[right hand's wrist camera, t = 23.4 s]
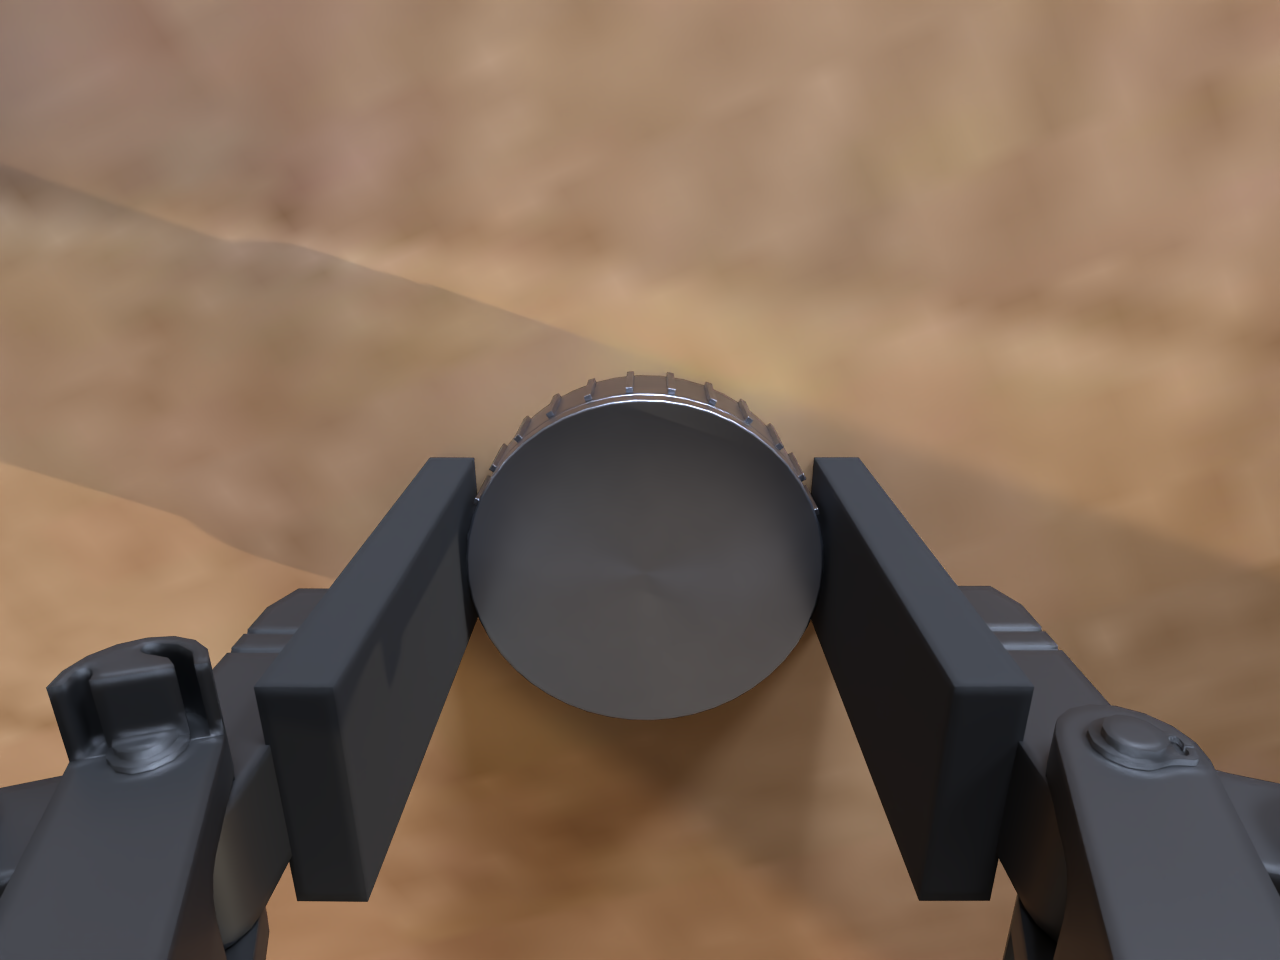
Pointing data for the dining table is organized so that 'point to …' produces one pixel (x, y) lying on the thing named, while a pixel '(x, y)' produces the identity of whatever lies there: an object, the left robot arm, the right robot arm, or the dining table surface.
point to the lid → (645, 549)
